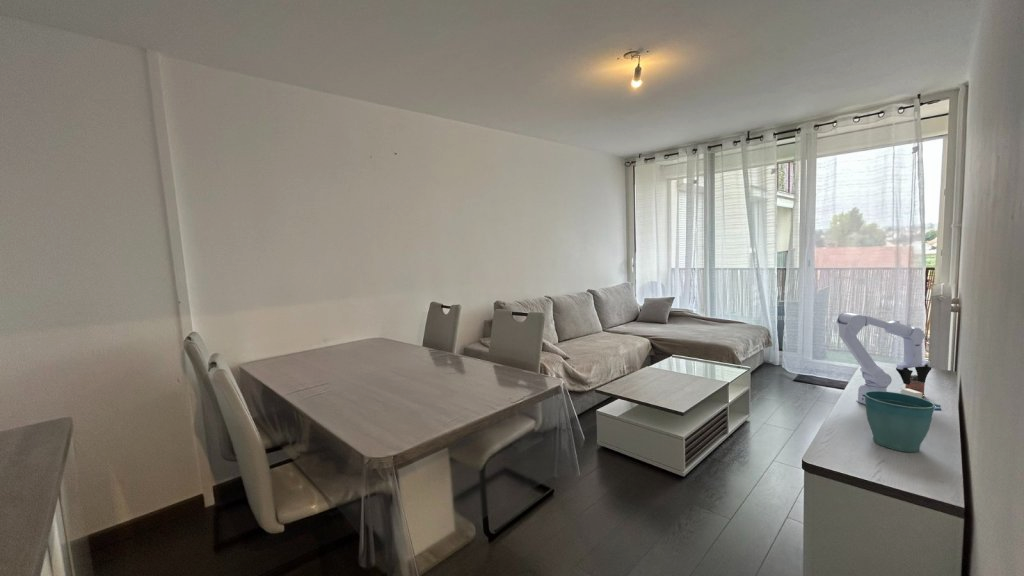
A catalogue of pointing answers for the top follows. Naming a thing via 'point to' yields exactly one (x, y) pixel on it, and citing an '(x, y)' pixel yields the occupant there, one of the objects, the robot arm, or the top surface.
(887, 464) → the top surface
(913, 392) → the cream rectangular block
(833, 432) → the top surface
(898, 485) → the top surface
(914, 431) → the flower pot
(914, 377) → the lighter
